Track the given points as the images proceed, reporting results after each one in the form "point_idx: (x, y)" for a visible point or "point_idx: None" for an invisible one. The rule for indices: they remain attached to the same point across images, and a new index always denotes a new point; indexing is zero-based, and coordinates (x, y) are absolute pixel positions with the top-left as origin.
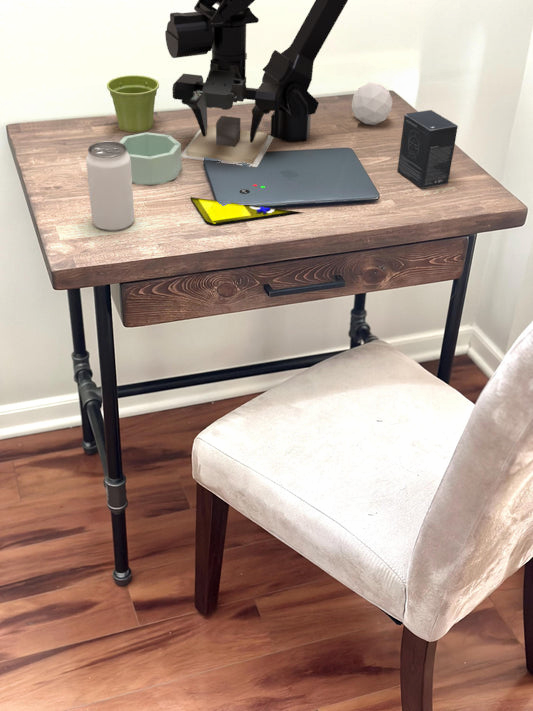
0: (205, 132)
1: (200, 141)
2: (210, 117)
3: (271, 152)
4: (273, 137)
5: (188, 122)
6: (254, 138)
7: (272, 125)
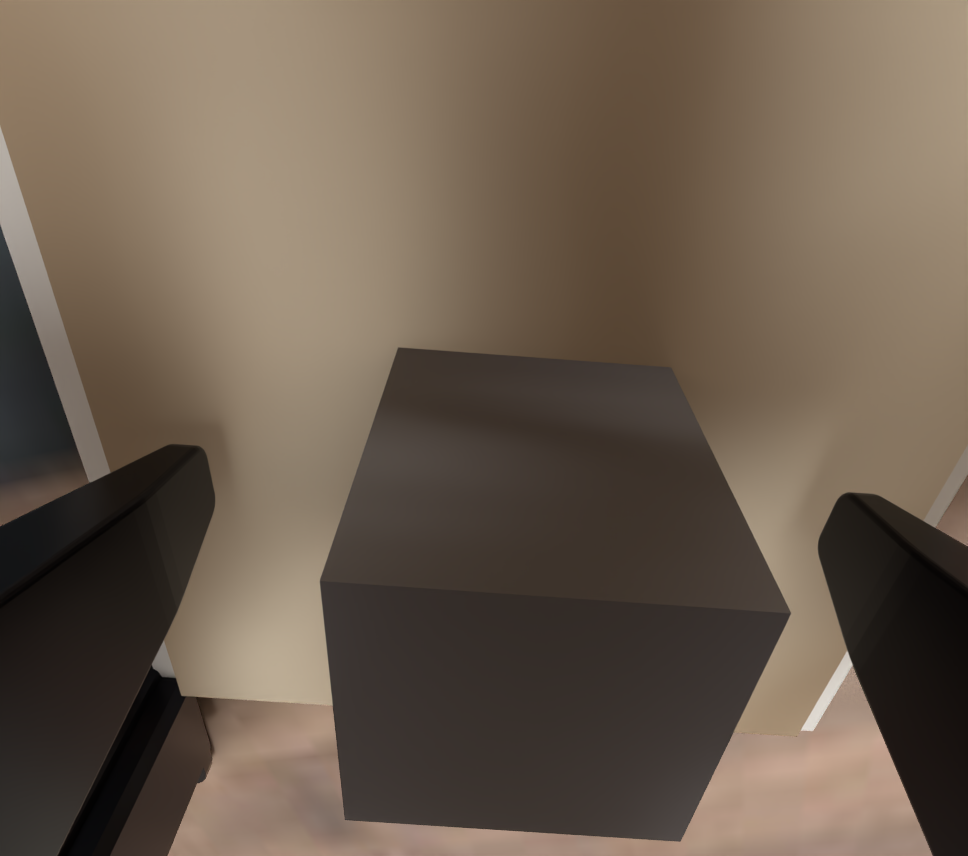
0: (863, 539)
1: (890, 417)
2: (726, 845)
3: (77, 451)
4: (155, 665)
5: (894, 784)
6: (256, 590)
7: (121, 780)
